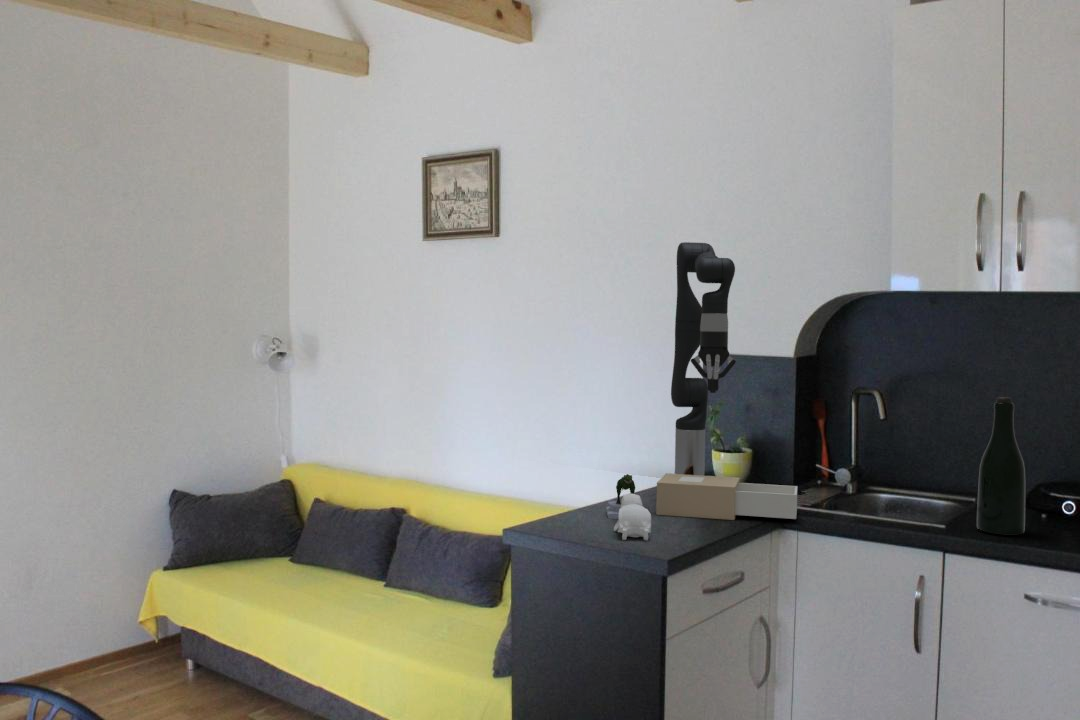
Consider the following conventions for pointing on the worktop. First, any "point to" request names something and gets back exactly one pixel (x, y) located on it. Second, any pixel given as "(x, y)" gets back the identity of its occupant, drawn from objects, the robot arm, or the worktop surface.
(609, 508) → the dinosaur figurine
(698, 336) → the robot arm
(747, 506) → the tray
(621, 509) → the white animal figurine
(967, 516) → the worktop surface
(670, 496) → the sleeve
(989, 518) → the beer bottle
